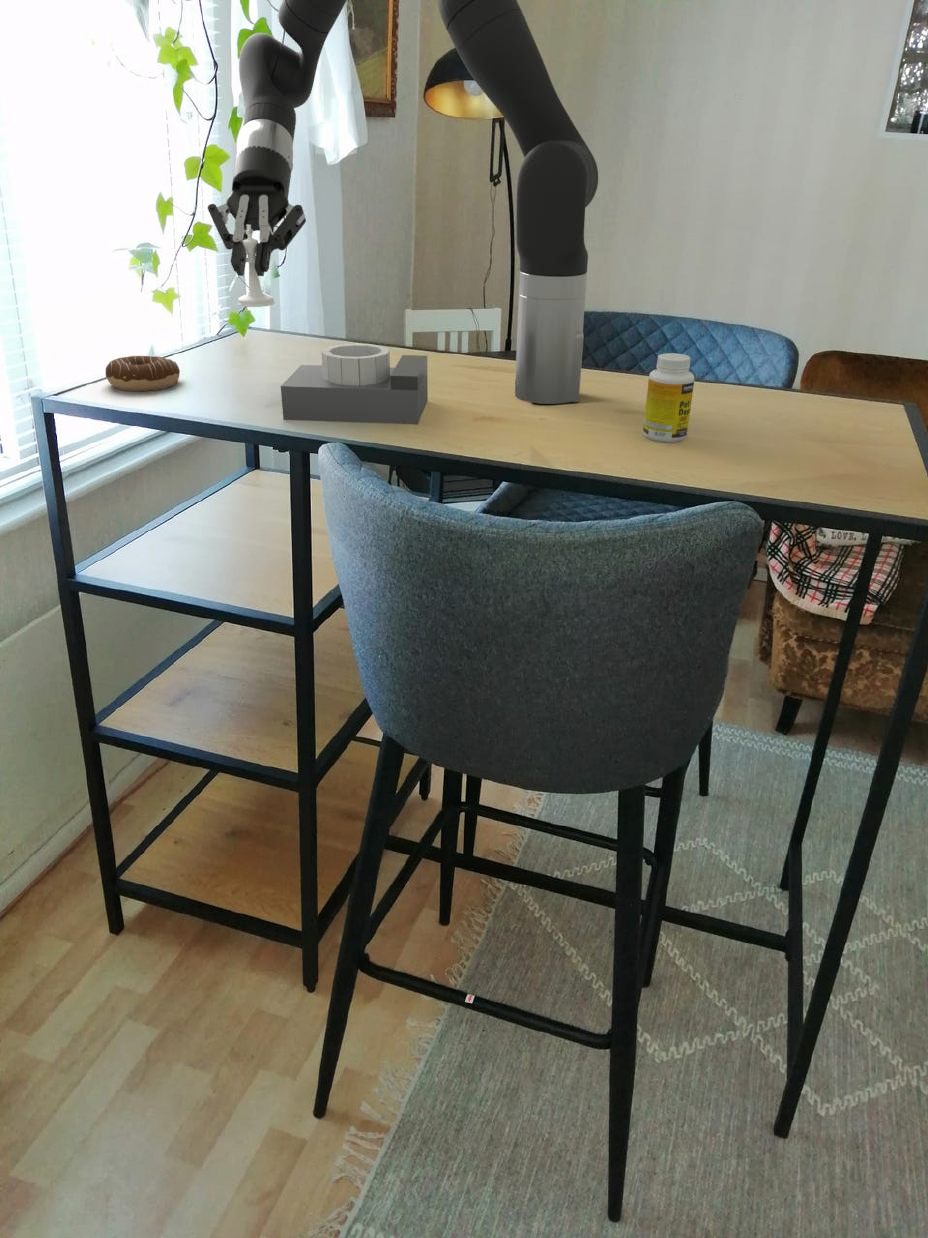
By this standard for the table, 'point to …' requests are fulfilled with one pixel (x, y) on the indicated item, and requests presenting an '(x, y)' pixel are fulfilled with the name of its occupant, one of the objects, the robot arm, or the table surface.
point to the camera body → (357, 387)
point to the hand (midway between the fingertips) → (249, 271)
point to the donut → (142, 373)
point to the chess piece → (253, 277)
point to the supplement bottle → (669, 399)
